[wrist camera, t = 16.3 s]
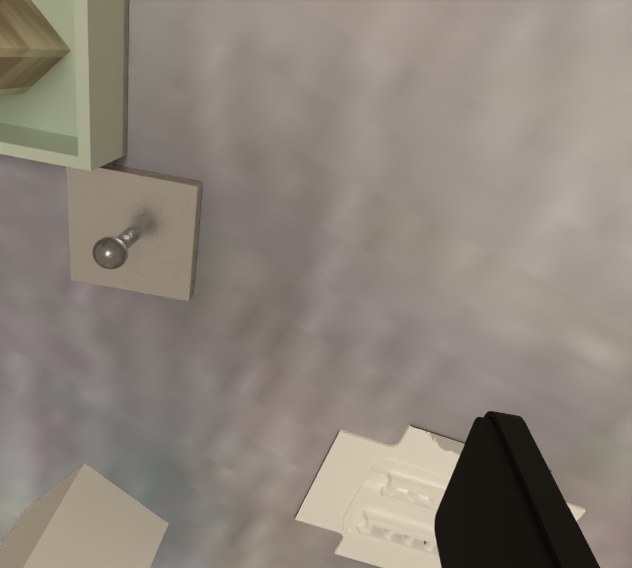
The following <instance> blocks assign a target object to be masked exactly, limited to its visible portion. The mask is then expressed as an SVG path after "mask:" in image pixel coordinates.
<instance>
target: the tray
mask: <svg viewBox="0 0 632 568" xmlns="http://www.w3.org/2000/svg"><path fill="white" fill-rule="evenodd" d="M464 445H465V444H464V443H461V442H457V441H455V440H451V439H448V438H445V437H442V436H439V435H436V434H433V433H430V432H427V431H424V430H421V429H418V428H415V427H412V426H410V425H408V426H407V428H406V430H405V431H404V433H403V435H402V436H401V438H400V440H399V441H398V442H397V443H396V444H393V445H387V444H384V443H381V442H377V441H374V440H371V439H368V438H365V437H362V436H359V435H356V434H352V433H349V432H346V431H343V430H340V431H339V434H338V436H337V438H336V440H335V442H334V444H333V445H332V447H331V449H330V451H329V453H328V455H327V457H326V459H325V461H324V463H323V465H322V467H321V469H320V471H319V473H318V474H317V477H316V479H315V481H314V483H313V484H312V486H311V488H310V490H309V492H308V494H307V496H306V498H305V500H304V502H303V504H302V506H301V508H300V510H299V512H298V514H297V516H296V518H295V520H298V521H302V522H305V523H309V524H312V525H315V526H319V527H322V528H325V529H329V530H332V531H335V532H339V533H340V534H341V535H342V538H341V540H340V542H339V543H338V545H337V547H336V548H335V550H334V553H335V554H338V555H341V556H345V557H348V558H351V559H355V560H358V561H362V562H365V563H369V564H372V565H376V566H379V567H382V568H441V563H440V558H439V553H438V548H437V543H436V538H435V531H434V522H435V515H436V512H437V510H438V507H439V505H440V502H441V500H442V498H443V495H444V493H445V490H446V488H447V486H448V483H449V481H450V478H451V476H452V474H453V471H454V469H455V466H456V464H457V461H458V459H459V457H460V454H461V452H462V449H463V447H464ZM550 472H552V471H550ZM566 504H567V505H568V507H569V508H570V510H571V512H572V514H573V516H574V518H575V520H576V522H577V520H578V519H579V518H580V517H581V516H582V515H583V514H584V512H585V508H583V507H579V506H576V505H573V504H570V503H567V502H566ZM424 541H425V542H426V545H425V544H424Z"/></svg>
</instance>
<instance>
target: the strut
mask: <svg viewBox="0 0 632 568" xmlns="http://www.w3.org/2000/svg"><path fill="white" fill-rule="evenodd" d="M70 51H71V49H70V48H69V47H68V46H67V44H66V43H65V42H64V41H63V39H62V38H61V37H60V35H59V34H58V33H57V32H56V30H55V29H54V28H53V27H52V25H51V24H50V23H49V22H48V20H47V19H46V18H45V17H44V15H43V14H42V13H41V12H40V10H39V9H38V8H37V7H36V5H35V4H34V3H33V2H32V0H0V96H5V95H14V94H23V93H25V92H26V91H27V90H28V89H29V88H30V87H31V86H33V85H34V84H35V83H36V82H37V81H38V80H39V79H40V78H41V77H42V76H43V75H44V74H46V73H47V72H48V71H49V70H50V69H51V68H52V67H53V66H54V65H55V64H56V63H58V62H59V61H60V60H61V59H62V58H63V57H64V56H65V55H66V54H67V53H68V52H70Z"/></svg>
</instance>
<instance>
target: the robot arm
mask: <svg viewBox="0 0 632 568" xmlns="http://www.w3.org/2000/svg"><path fill="white" fill-rule="evenodd" d="M434 531H435V538H436V543H437V548H438V553H439V558H440V563H441V568H600V567H599V565H598V563H597V561H596V559H595V557H594V555H593V553H592V551H591V549H590V547H589V545H588V543H587V541H586V539H585V537H584V535H583V533H582V531H581V529H580V527H579V526H578V524H577V522H576V520H575V518H574V516H573V514H572V512H571V510H570V508H569V507H568V505H567V504H566V502H565V500H564V498H563V496H562V494H561V492H560V490H559V488H558V486H557V484H556V482H555V480H554V478H553V476H552V474H551V472H550V470H549V468H548V466H547V464H546V462H545V460H544V458H543V457H542V455H541V453H540V451H539V449H538V447H537V445H536V443H535V441H534V439H533V437H532V435H531V433H530V431H529V429H528V427H527V425H526V423H525V421H524V420H523V418H522V417H520V416H516V415H511V414H505V413H499V412H494V411H489V412H487V413H486V414H485V416H484V418H483V417H477V418H476V419H475V421H474V423H473V425H472V428H471V430H470V433H469V435H468V437H467V440H466V442H465V445H464V447H463V449H462V452H461V454H460V457H459V459H458V461H457V464H456V466H455V469H454V471H453V474H452V476H451V478H450V481H449V483H448V486H447V488H446V490H445V493H444V495H443V498H442V500H441V502H440V505H439V507H438V510H437V512H436V515H435V522H434Z"/></svg>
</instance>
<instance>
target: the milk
mask: <svg viewBox="0 0 632 568" xmlns="http://www.w3.org/2000/svg"><path fill="white" fill-rule="evenodd" d="M168 525H169V524H168V523H166V522H165V521H164V520H162V519H161V518H159V517H158V516H157V515H155V514H154V513H153V512H151V511H150V510H148V509H147V508H146V507H144V506H143V505H141V504H140V503H139V502H137V501H136V500H135V499H133V498H132V497H130V496H129V495H128V494H126V493H125V492H123V491H122V490H121V489H119V488H118V487H117V486H115V485H114V484H112V483H111V482H110V481H108V480H107V479H105V478H104V477H103V476H101V475H100V474H99V473H97V472H96V471H94V470H93V469H92V468H90V467H89V466H87V465H86V464H85V463H84V464H83V465H81V466H80V467H79V468H77V469H76V470H75V471H74V472H72V473H71V474H70V475H69V476H67V477H66V478H65V479H64V480H62V481H61V482H60V483H59V484H57V485H56V486H55V487H54V488H52V489H51V490H50V491H49V492H47V493H46V494H45V495H44V496H42V497H41V498H40V499H38V500H37V501H36V502H35V503H33V504H32V505H31V506H30V507H28V508H27V509H26V510H25V511H24V512H23V514H22V515H21V517H20V519H19V520H18V522H17V523H16V525H15V526H14V528H13V530H12V531H11V533H10V534H9V536H8V538H7V539H6V541H5V542H4V544H3V545H2V547H1V549H0V568H150V566H151V564H152V562H153V559H154V557H155V555H156V552H157V550H158V548H159V546H160V543H161V541H162V539H163V536H164V534H165V532H166V529H167V527H168Z"/></svg>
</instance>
